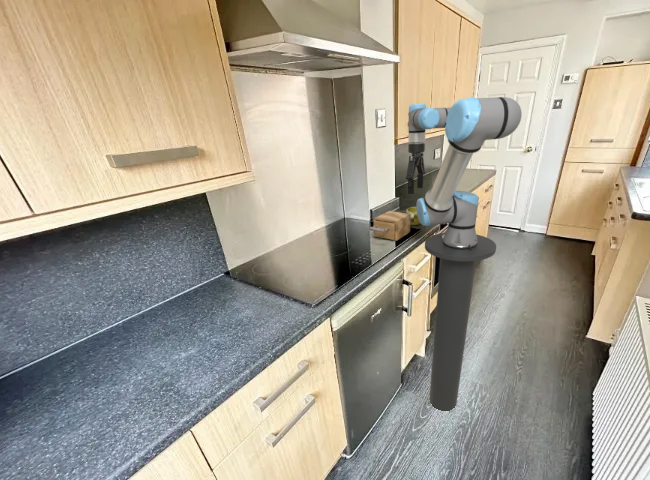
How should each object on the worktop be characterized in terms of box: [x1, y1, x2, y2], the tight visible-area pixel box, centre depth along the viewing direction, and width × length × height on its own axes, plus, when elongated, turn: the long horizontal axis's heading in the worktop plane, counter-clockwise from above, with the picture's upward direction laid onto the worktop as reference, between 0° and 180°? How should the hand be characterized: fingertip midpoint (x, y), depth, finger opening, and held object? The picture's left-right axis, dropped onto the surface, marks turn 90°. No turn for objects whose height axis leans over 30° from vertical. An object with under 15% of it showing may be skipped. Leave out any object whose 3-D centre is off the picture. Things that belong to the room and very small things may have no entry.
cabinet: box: [373, 210, 411, 242], centre depth 160 cm, size 15×13×10 cm
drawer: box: [369, 220, 395, 241], centre depth 156 cm, size 20×11×8 cm, turn 147°
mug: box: [405, 206, 421, 227], centre depth 174 cm, size 12×10×10 cm
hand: (415, 190), depth 154 cm, fingers open, 13 cm apart
